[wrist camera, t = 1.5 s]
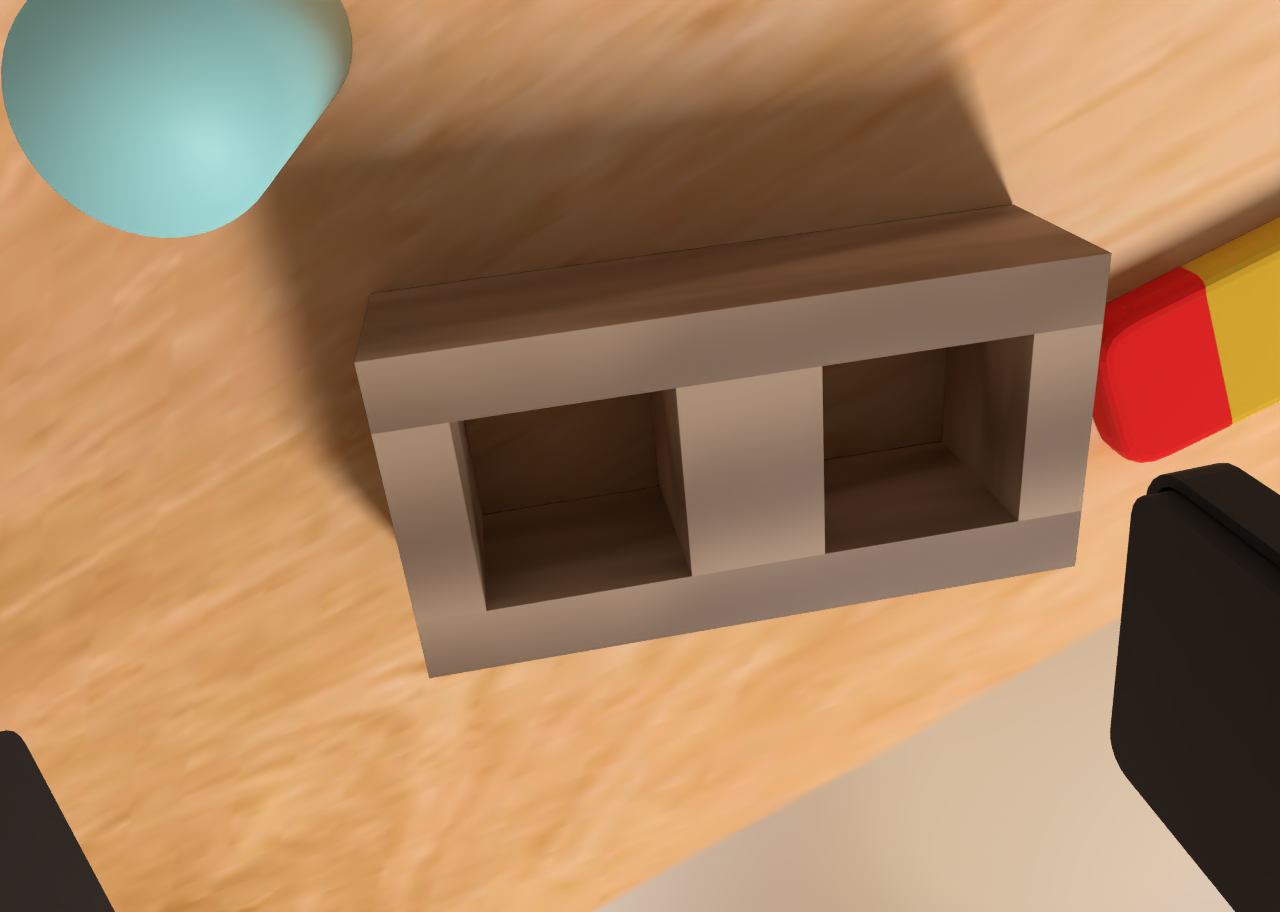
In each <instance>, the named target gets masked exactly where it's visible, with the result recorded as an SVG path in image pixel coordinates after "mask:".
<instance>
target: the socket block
mask: <svg viewBox="0 0 1280 912" xmlns="http://www.w3.org/2000/svg"><path fill="white" fill-rule="evenodd" d="M1110 262H1111V253H1110V252H1108V251H1106V250H1104V249H1102V248H1100V247H1098V246H1096V245H1094V244H1092V243H1090V242H1088V241H1086V240H1084V239H1082V238H1080V237H1078V236H1076V235H1074V234H1072V233H1070V232H1068V231H1066V230H1064V229H1062V228H1060V227H1058V226H1056V225H1054V224H1052V223H1050V222H1048V221H1046V220H1044V219H1042V218H1040V217H1038V216H1036V215H1033V214H1031V213H1029V212H1027V211H1025V210H1023V209H1021V208H1019V207H1017V206H1015V205H1008V206H1000V207H993V208H986V209H979V210H971V211H964V212H957V213H950V214H943V215H935V216H928V217H921V218H914V219H907V220H899V221H892V222H885V223H878V224H870V225H863V226H856V227H849V228H842V229H834V230H827V231H820V232H813V233H805V234H798V235H791V236H784V237H777V238H769V239H762V240H755V241H748V242H740V243H733V244H726V245H719V246H712V247H704V248H697V249H690V250H683V251H676V252H668V253H661V254H654V255H647V256H639V257H632V258H625V259H618V260H611V261H603V262H596V263H589V264H582V265H574V266H567V267H560V268H553V269H546V270H538V271H531V272H524V273H517V274H509V275H502V276H495V277H488V278H481V279H473V280H466V281H459V282H452V283H445V284H437V285H430V286H423V287H416V288H408V289H401V290H394V291H387V292H380V293H372V294H370V298H369V302H368V306H367V311H366V315H365V319H364V323H363V327H362V332H361V336H360V340H359V344H358V348H357V353H356V357H355V361H354V364H355V368H356V372H357V377H358V381H359V385H360V389H361V393H362V398H363V402H364V406H365V410H366V414H367V419H368V423H369V427H370V431H371V435H372V440H373V444H374V448H375V452H376V456H377V461H378V465H379V469H380V473H381V477H382V481H383V486H384V490H385V494H386V498H387V502H388V507H389V511H390V515H391V519H392V523H393V528H394V532H395V536H396V540H397V544H398V549H399V553H400V557H401V561H402V565H403V570H404V574H405V578H406V582H407V586H408V590H409V595H410V599H411V603H412V607H413V611H414V616H415V620H416V624H417V628H418V632H419V637H420V641H421V645H422V649H423V653H424V658H425V662H426V666H427V670H428V674H429V678H433V677H439V676H445V675H451V674H456V673H462V672H468V671H474V670H479V669H485V668H491V667H497V666H502V665H508V664H514V663H520V662H525V661H531V660H537V659H543V658H548V657H554V656H560V655H566V654H571V653H577V652H583V651H589V650H594V649H600V648H606V647H612V646H617V645H623V644H629V643H635V642H640V641H646V640H652V639H658V638H663V637H669V636H675V635H681V634H686V633H692V632H698V631H704V630H709V629H715V628H721V627H727V626H732V625H738V624H744V623H750V622H755V621H761V620H767V619H773V618H778V617H784V616H790V615H796V614H801V613H807V612H813V611H819V610H824V609H830V608H836V607H842V606H847V605H853V604H859V603H865V602H871V601H876V600H882V599H888V598H894V597H899V596H905V595H911V594H917V593H922V592H928V591H934V590H940V589H945V588H951V587H957V586H963V585H968V584H974V583H980V582H986V581H991V580H997V579H1003V578H1009V577H1014V576H1020V575H1026V574H1032V573H1037V572H1043V571H1049V570H1055V569H1060V568H1066V567H1072V566H1075V561H1076V552H1077V544H1078V535H1079V527H1080V518H1081V509H1082V501H1083V492H1084V484H1085V475H1086V467H1087V458H1088V450H1089V441H1090V433H1091V424H1092V415H1093V407H1094V398H1095V390H1096V381H1097V373H1098V364H1099V356H1100V347H1101V339H1102V330H1103V321H1104V313H1105V304H1106V296H1107V287H1108V279H1109V270H1110ZM946 347H947V353H946V375H945V398H944V420H943V441H941V442H935V443H929V444H923V445H916V446H910V447H904V448H898V449H891V450H885V451H879V452H873V453H866V454H860V455H854V456H848V457H841V458H835V459H829V460H824V449H823V383H822V366H827V365H833V364H840V363H846V362H853V361H860V360H866V359H873V358H880V357H886V356H893V355H899V354H906V353H913V352H919V351H926V350H932V349H939V348H946ZM648 392H650V395H651V405H652V415H653V425H654V435H655V445H656V455H657V466H658V476H659V486H660V487H654V488H647V489H641V490H635V491H629V492H622V493H616V494H610V495H604V496H597V497H591V498H585V499H579V500H572V501H566V502H560V503H554V504H547V505H541V506H535V507H529V508H522V509H516V510H510V511H504V512H497V513H491V514H485V515H482V510H481V505H480V500H479V495H478V489H477V484H476V479H475V474H474V468H473V463H472V458H471V453H470V447H469V442H468V437H467V432H466V427H465V421H464V420H469V419H476V418H482V417H489V416H496V415H502V414H509V413H516V412H522V411H529V410H535V409H542V408H549V407H555V406H562V405H569V404H575V403H582V402H588V401H595V400H602V399H608V398H615V397H621V396H628V395H635V394H641V393H648Z"/></svg>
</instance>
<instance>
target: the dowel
mask: <svg viewBox="0 0 1280 912" xmlns="http://www.w3.org/2000/svg"><path fill="white" fill-rule="evenodd" d="M351 58H352V35H351V28H350V24H349V21H348V17H347V14H346V12H345V9H344V7H343V5H342V3H341V1H340V0H28V1H27V2H26V3H25V4H24V6H23V7H22V9H21V10H20V12H19V13H18V15H17V16H16V18H15V20H14V22H13V24H12V26H11V29H10V31H9V33H8V36H7V40H6V43H5V47H4V51H3V59H2V67H1V77H2V92H3V98H4V104H5V108H6V112H7V115H8V119H9V122H10V125H11V127H12V129H13V132H14V134H15V136H16V139H17V141H18V143H19V145H20V146H21V148H22V150H23V151H24V153H25V155H26V157H27V158H28V160H29V161H30V162H31V164H32V165H33V166H34V168H35V169H36V171H37V172H38V173H39V174H40V176H41V177H42V178H43V179H44V180H45V181H46V182H47V183H48V184H49V185H50V186H51V187H52V188H53V189H54V190H55V191H56V192H57V193H58V194H59V195H61V196H62V197H63V198H64V199H65V200H66V201H68V202H69V203H70V204H72V205H73V206H75V207H76V208H78V209H79V210H80V211H82V212H83V213H85V214H87V215H89V216H91V217H92V218H94V219H96V220H98V221H100V222H102V223H105V224H107V225H109V226H112V227H114V228H116V229H120V230H123V231H127V232H130V233H133V234H138V235H144V236H150V237H164V238H174V237H187V236H192V235H198V234H203V233H206V232H209V231H212V230H214V229H217V228H220V227H222V226H224V225H226V224H228V223H230V222H232V221H233V220H235V219H236V218H238V217H239V216H240V215H242V214H243V213H245V212H246V211H247V210H248V209H249V208H250V207H251V206H252V205H253V204H255V203H256V202H257V201H258V199H259V198H260V197H261V196H262V194H263V193H264V192H265V190H266V189H267V188H268V186H269V185H270V184H271V182H272V181H273V180H274V178H275V177H276V176H277V174H278V173H279V171H280V170H281V169H282V167H283V166H284V165H285V163H286V162H287V161H288V159H289V158H290V157H291V155H292V154H293V152H294V151H295V150H296V148H297V147H298V146H299V144H300V143H301V142H302V140H303V139H304V137H305V136H306V135H307V133H308V132H309V131H310V129H311V128H312V127H313V125H314V124H315V122H316V121H317V120H318V118H319V117H320V116H321V114H322V113H323V112H324V110H325V109H326V108H327V106H328V105H329V103H330V102H331V101H332V99H333V98H334V97H335V95H336V94H337V93H338V91H339V90H340V88H341V86H342V85H343V83H344V81H345V79H346V76H347V74H348V71H349V67H350V63H351Z"/></svg>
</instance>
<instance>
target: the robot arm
mask: <svg viewBox="0 0 1280 912" xmlns="http://www.w3.org/2000/svg"><path fill="white" fill-rule="evenodd" d="M1110 739H1111V744H1112V749H1113V752H1114V755H1115V758H1116V760H1117V762H1118V764H1119V766H1120V768H1121V770H1122V771H1123V773H1124V774H1125V776H1126V777H1127V779H1128V780H1129V781H1130V782H1131V784H1132V785H1133V786H1134V787H1135V789H1136V790H1137V791H1138V792H1139V793H1140V795H1141V796H1142V797H1143V798H1144V800H1145V801H1146V802H1147V803H1148V805H1149V806H1150V807H1151V808H1152V810H1153V811H1154V812H1155V813H1156V814H1157V815H1158V817H1159V818H1160V819H1161V821H1162V822H1163V823H1164V824H1165V826H1166V827H1167V828H1168V829H1169V830H1170V832H1171V833H1172V834H1173V835H1174V837H1175V838H1176V839H1177V840H1178V842H1179V843H1180V844H1181V845H1182V846H1183V848H1184V849H1185V850H1186V851H1187V853H1188V854H1189V855H1190V856H1191V857H1192V859H1193V860H1194V861H1195V863H1196V864H1197V865H1198V866H1199V867H1200V869H1201V870H1202V871H1203V872H1204V874H1205V875H1206V876H1207V877H1208V879H1209V880H1210V881H1211V882H1212V884H1213V885H1214V886H1215V887H1216V889H1217V890H1218V891H1219V892H1220V893H1221V895H1222V896H1223V897H1224V898H1225V900H1226V901H1227V902H1228V903H1229V905H1230V906H1231V907H1232V908H1233V910H1234V911H1235V912H1280V495H1279V494H1277V493H1276V492H1274V491H1273V490H1271V489H1270V488H1268V487H1267V486H1265V485H1264V484H1262V483H1261V482H1259V481H1258V480H1256V479H1255V478H1253V477H1252V476H1250V475H1249V474H1247V473H1246V472H1244V471H1243V470H1241V469H1240V468H1238V467H1236V466H1234V465H1231V464H1229V463H1217V464H1212V465H1207V466H1202V467H1197V468H1192V469H1188V470H1183V471H1178V472H1173V473H1168V474H1163V475H1160V476H1158V477H1157V478H1155V479H1153V481H1152V482H1151V484H1150V486H1149V487H1148V490H1147V494H1146V495H1144V496H1142V497H1140V498H1138V499H1137V500H1136V502H1135V503H1134V505H1133V508H1132V513H1131V521H1130V532H1129V542H1128V552H1127V563H1126V573H1125V583H1124V594H1123V604H1122V614H1121V625H1120V635H1119V646H1118V656H1117V666H1116V677H1115V687H1114V697H1113V707H1112V718H1111V728H1110ZM0 912H115V911H114V909H113V907H112V906H111V904H110V902H109V900H108V898H107V896H106V894H105V892H104V891H103V889H102V887H101V885H100V883H99V881H98V879H97V877H96V875H95V874H94V872H93V870H92V868H91V866H90V864H89V862H88V860H87V859H86V857H85V855H84V853H83V851H82V849H81V847H80V845H79V843H78V842H77V840H76V838H75V836H74V834H73V832H72V830H71V828H70V827H69V825H68V823H67V821H66V819H65V817H64V815H63V813H62V811H61V810H60V808H59V806H58V804H57V802H56V800H55V798H54V796H53V794H52V793H51V791H50V789H49V787H48V785H47V783H46V781H45V779H44V778H43V776H42V774H41V772H40V770H39V768H38V766H37V764H36V762H35V761H34V759H33V757H32V755H31V753H30V751H29V749H28V747H27V746H26V744H25V742H24V741H23V739H22V738H21V737H20V736H19V735H18V734H17V733H15V732H14V731H7V730H6V731H1V732H0Z"/></svg>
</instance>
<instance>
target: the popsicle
mask: <svg viewBox="0 0 1280 912" xmlns="http://www.w3.org/2000/svg"><path fill="white" fill-rule="evenodd" d="M1188 270H1189V271H1188ZM1210 314H1211V315H1210ZM1111 388H1112V389H1111ZM1106 394H1107V395H1106ZM1278 402H1280V217H1278V218H1276V219H1274V220H1272V221H1270V222H1268V223H1266V224H1264V225H1262V226H1260V227H1258V228H1256V229H1254V230H1252V231H1250V232H1248V233H1246V234H1244V235H1242V236H1240V237H1238V238H1236V239H1234V240H1232V241H1230V242H1228V243H1226V244H1224V245H1222V246H1220V247H1218V248H1216V249H1214V250H1212V251H1210V252H1208V253H1206V254H1204V255H1202V256H1200V257H1198V258H1196V259H1194V260H1192V261H1190V262H1188V263H1186V264H1184V265H1182V266H1180V267H1178V268H1176V269H1174V270H1172V271H1170V272H1168V273H1166V274H1164V275H1162V276H1160V277H1158V278H1156V279H1154V280H1152V281H1150V282H1148V283H1146V284H1144V285H1142V286H1140V287H1138V288H1136V289H1134V290H1132V291H1130V292H1128V293H1126V294H1124V295H1122V296H1120V297H1118V298H1116V299H1114V300H1112V301H1111V302H1109V303H1108V304H1106V305H1105V313H1104V321H1103V330H1102V339H1101V347H1100V356H1099V364H1098V373H1097V381H1096V390H1095V398H1094V407H1093V416H1094V419H1095V422H1096V426H1097V428H1098V431H1099V433H1100V435H1101V437H1102V439H1103V440H1104V441H1105V442H1106V443H1107V444H1108V445H1109V446H1110V447H1111V448H1112V449H1113V450H1115V451H1116V452H1117V453H1118V454H1120V455H1121V456H1122V457H1124V458H1126V459H1128V460H1132V461H1135V462H1140V463H1143V462H1151V461H1156V460H1159V459H1161V458H1164V457H1166V456H1169V455H1171V454H1173V453H1175V452H1177V451H1179V450H1182V449H1184V448H1186V447H1188V446H1190V445H1192V444H1194V443H1196V442H1198V441H1200V440H1202V439H1204V438H1206V437H1208V436H1210V435H1212V434H1214V433H1216V432H1218V431H1221V430H1223V429H1225V428H1227V427H1229V426H1231V425H1233V424H1235V423H1237V422H1239V421H1241V420H1243V419H1245V418H1247V417H1249V416H1251V415H1253V414H1255V413H1257V412H1260V411H1262V410H1264V409H1266V408H1268V407H1270V406H1272V405H1274V404H1276V403H1278Z"/></svg>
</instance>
